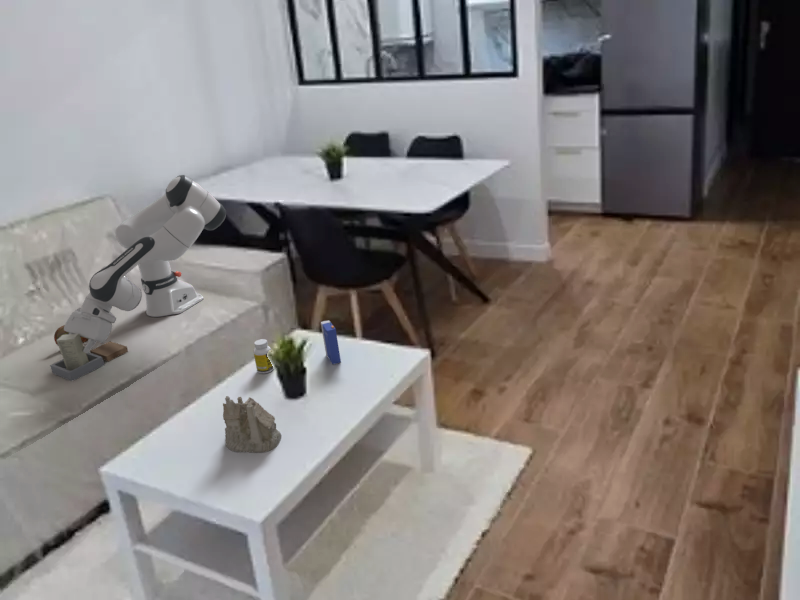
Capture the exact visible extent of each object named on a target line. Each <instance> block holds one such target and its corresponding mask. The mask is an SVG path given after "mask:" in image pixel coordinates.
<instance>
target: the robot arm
mask: <svg viewBox="0 0 800 600" xmlns="http://www.w3.org/2000/svg"><path fill="white" fill-rule="evenodd" d="M226 215H227V210H226V209H225V207H224V205H223V204H222V203H221V202H219V201H218V200H217V199H216V198H215V197H214V196H213V195H212V194H211V193H210V192H209V191H208V190H206V189H205V188H204V187H202V186H201V185H200V184H199V183H198V182H195V181H194V180H193V179H192V178H191V177H189V176H187V175H185V174H179V175H177V176H176V177H174V178H173V179H172V180H170V182H169V183H168V184H167V186H166V189H165V193H164V194H163V195H161V196H160V197H159V198H158V199H156V200H154V201H153V202H151V203H149V204H147V206H144V207H143V208H141V209H140V210H138V211H137V212H135V213H134V214H133V215H131V216H129V217H127V218H126V219H125V220H124V221H122V222H121V223H120V224H119V225H118V226H117V227H116V229H115V237H116V240H117V242H118V244H119V245H120V246H121V247H123V248H124V249H126V250H125V251H123V252H122V253H121V254H120V255H118V257H116V258H115V259H114V260H112V262H111V263H109V264H108V265H104V266H102V268H101V269H100V270H98V271H97V272H95V273H94V274H93V275H92V277H91V278H90V280H89V285H88V287H89V288H88V289H89V292H88V294H87V295H86V297H85V298H84V300H83V303H82V305H81V306H80V307H78V308H77V309H75V310H74V311H73V312H72V313H71V314H70V315H69V317H68V319H67V320H66V322H65V324H64V325H65V326H64V331H66V332H69V334H77V333H79V334H80V336H81V337H84V338H87V339H88V341H87V343H86V344H85V345H83V349H82V352H85V353H90V350H92V349H93V348H94V346H95V345H96V343H101V344H104V343H105V342H106V341H107V339H108V338H109V335H110V333H111V332H112V329H113V324H115V323H116V321H117V317H116V316H115V315H114V314H113V312H111V311H112V308H113V307H114V308H117V309H119V310H120V311H123V312H130V311H133V310H135V309H136V308H137V307H138V306H139V305H140V303H141V301H142V297H143V293H142V290H141V288H140V287H139V286H138V285H136V284H135V283H134V282H133V281H131V279H129V278H128V276H127V274H129V273H130V272H131V271H132V270H133V269H135V268H136V267H137V266H138V269H139V272H140V277H141V278H140V281H141V285H142V288H143V292H144V294H145V295H144V296H145V301H146V310H145V311H146V315H147V316H148V317H153V318H157V317H158V318H159V317H167V316H170V315H179V314H181V313H184V311H187V310H188V309H189V308H192V307H193V306H194V305H197V303H200V302H201V301H202V300H204V296H203V295H202V294H201V293H199V292H196V289H195V287H194V286H193V285H192V284H191V283H188V282H186V281H184V280H181V279H178V278H181V276H182V272H181V271H172V269H171V264H170V262H172V261H177V260H178V259H180V258H181V257H182V256H183V255H185V253H186V252H187V251H188V250H189V249H190V248H191V247H192V246H193V244H195V242H196V241H197V239H198V238H199V236H201V233H202V231H203V230H207V231H214V230H216V229H217V228H218V227H220V226H221V225H222V224H223V222H224V221H225V219H226V217H227V216H226Z"/></svg>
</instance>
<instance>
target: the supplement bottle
mask: <svg viewBox="0 0 800 600" xmlns="http://www.w3.org/2000/svg"><path fill="white" fill-rule="evenodd" d="M253 343H254V349H253V356H254V361H255V366H256V371H257V373H258V374H268V373H271V372H272V371H274V369H273V366H272V364H271V362H270V360H269V359H268V357H267V353H268V351H269V350H271V351H272V348H271V347H270V346H269V343H268V340H267V339H265V338H261V339H257V340H255V341H254V342H253Z"/></svg>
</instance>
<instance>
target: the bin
mask: <svg viewBox="0 0 800 600" xmlns="http://www.w3.org/2000/svg"><path fill="white" fill-rule="evenodd" d="M86 355H87V357H88V360H89V362H88V363H86V364H84V365H82V366H80V367H78V368H76V369H73V370H71V371H69V370H67V369H66V366H65V363H64V360H63V358H62V359H60V360H59V361H56V362H54V363H52V364H50V365H49V367H50V370H51V373H52V374H53V375H56V376H59V377H61V378H63V379H66V380H68V381H70V382H74V381H75V380H77V379H79V378H82V377H83V376H85V375H87V374H89V373H91V372H93V371H96V370H97V369H99V368H101V367H103V366H105V362H104V361H105V360H103V358H102V357H101V356H98V355H95V354H92V353H90V352H89V353H86Z"/></svg>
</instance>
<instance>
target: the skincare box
mask: <svg viewBox="0 0 800 600" xmlns="http://www.w3.org/2000/svg"><path fill="white" fill-rule="evenodd" d="M57 343H58V345H57V347H58V348H59V352H60V354H61V357H62V359H63V360H64V363H65V366H66V368H65V369H67V370H69V371H71V370H73V369H76V368H78V367H80V366H82V365H84V364H86V363H88V362H89V360H88V357H87V355H86V353H85V352H82V349H83V346H84V344H83V343H84V342H83V343H82V340H81V337H80V334H79V333H77V334H66V335H62V336H61V337H60V338H58V339H57Z"/></svg>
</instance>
